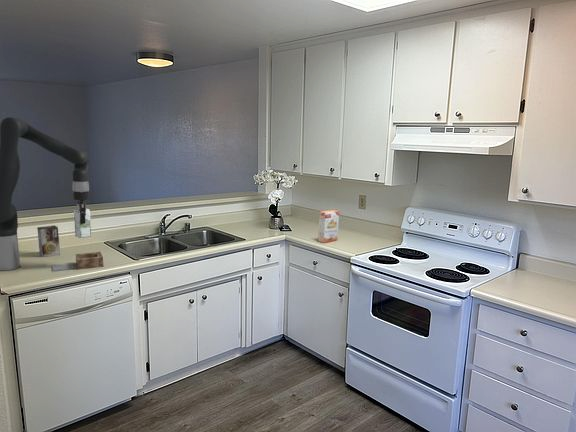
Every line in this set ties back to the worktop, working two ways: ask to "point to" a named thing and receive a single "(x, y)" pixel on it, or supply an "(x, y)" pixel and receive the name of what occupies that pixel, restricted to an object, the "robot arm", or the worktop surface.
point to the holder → (89, 260)
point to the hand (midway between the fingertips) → (82, 222)
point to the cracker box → (328, 226)
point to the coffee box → (48, 241)
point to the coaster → (62, 267)
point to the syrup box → (82, 229)
